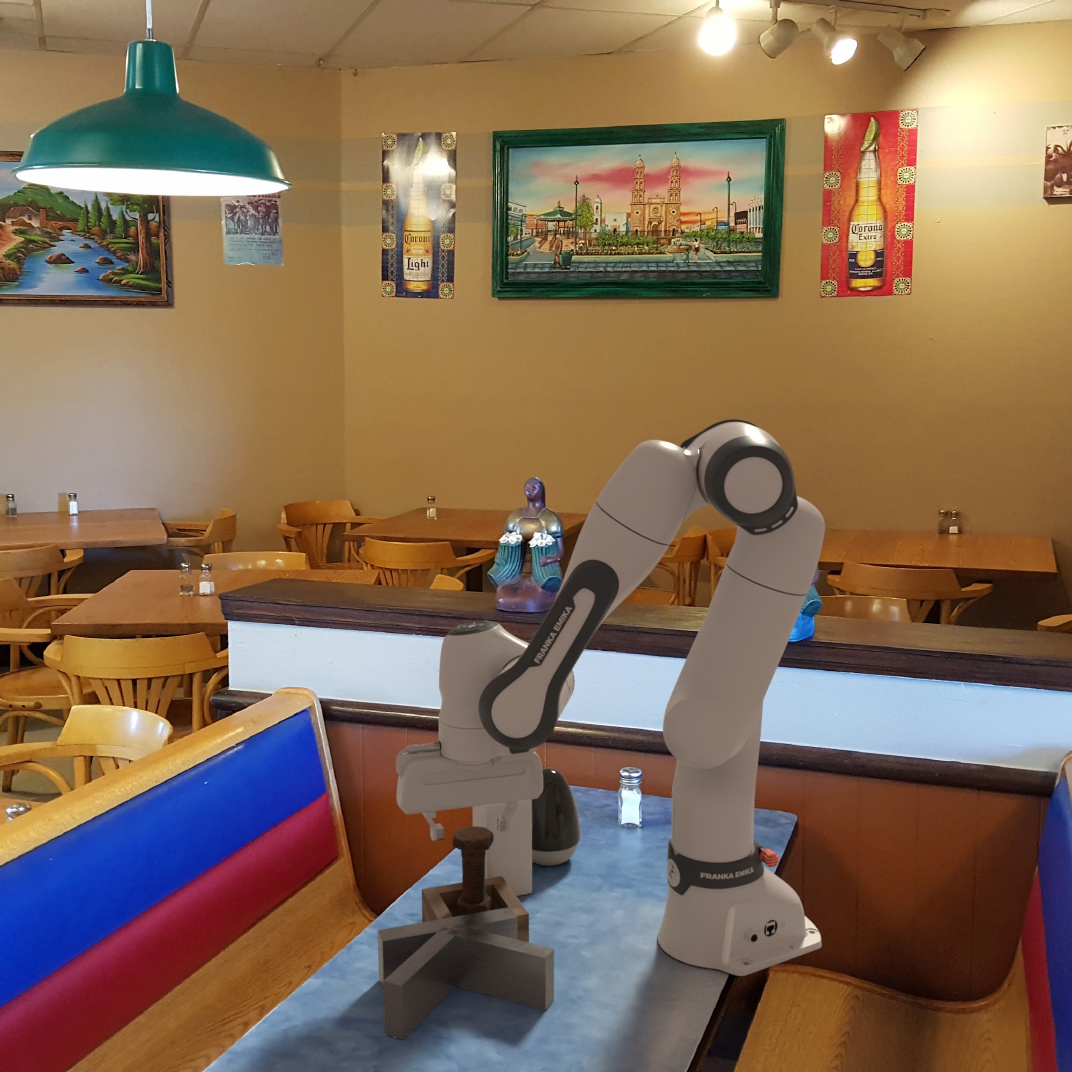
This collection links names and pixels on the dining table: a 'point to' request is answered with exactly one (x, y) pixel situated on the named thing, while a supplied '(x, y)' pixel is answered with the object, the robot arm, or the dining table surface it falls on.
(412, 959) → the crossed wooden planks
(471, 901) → the bolt
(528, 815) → the milk carton
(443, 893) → the bore block
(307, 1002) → the dining table surface
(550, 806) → the black egg shape
